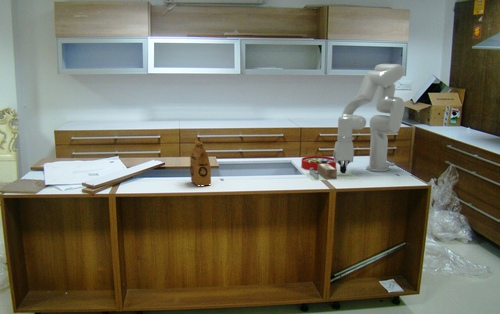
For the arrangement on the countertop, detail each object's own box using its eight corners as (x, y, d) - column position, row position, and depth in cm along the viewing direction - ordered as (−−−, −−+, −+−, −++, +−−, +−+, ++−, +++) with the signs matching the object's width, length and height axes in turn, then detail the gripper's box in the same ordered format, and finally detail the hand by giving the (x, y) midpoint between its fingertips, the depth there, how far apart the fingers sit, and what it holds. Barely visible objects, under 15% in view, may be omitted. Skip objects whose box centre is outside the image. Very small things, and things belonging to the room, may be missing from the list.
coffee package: (194, 187, 231) (192, 144, 227) (189, 181, 243) (187, 140, 238) (213, 186, 234) (212, 143, 230) (207, 180, 246) (206, 139, 241)
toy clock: (299, 156, 278) (332, 155, 278) (299, 165, 279) (332, 165, 279) (304, 163, 258) (339, 163, 259) (303, 173, 260) (339, 173, 260)
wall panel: (348, 173, 259) (348, 171, 259) (359, 180, 244) (359, 178, 244) (303, 175, 255) (303, 173, 255) (312, 182, 240) (312, 180, 239)
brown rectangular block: (327, 172, 256) (328, 163, 255) (336, 178, 243) (337, 169, 242) (317, 172, 255) (317, 163, 254) (325, 179, 242) (326, 169, 241)
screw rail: (312, 173, 254) (312, 167, 253) (320, 179, 242) (320, 172, 241) (308, 173, 254) (308, 167, 253) (315, 179, 241) (315, 173, 240)
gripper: (355, 138, 251) (353, 170, 255) (328, 138, 249) (327, 171, 252) (360, 140, 244) (358, 174, 248) (333, 141, 241) (332, 175, 245)
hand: (342, 172), depth 250 cm, fingers closed
